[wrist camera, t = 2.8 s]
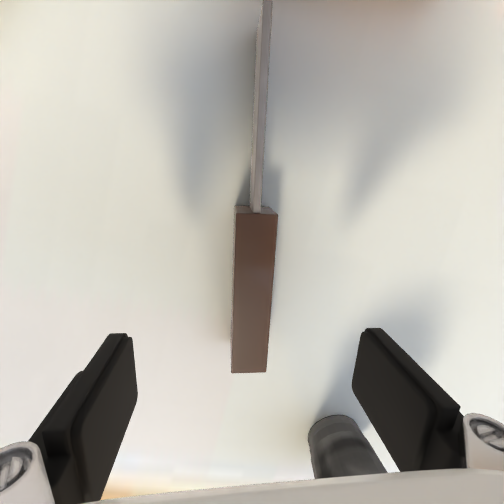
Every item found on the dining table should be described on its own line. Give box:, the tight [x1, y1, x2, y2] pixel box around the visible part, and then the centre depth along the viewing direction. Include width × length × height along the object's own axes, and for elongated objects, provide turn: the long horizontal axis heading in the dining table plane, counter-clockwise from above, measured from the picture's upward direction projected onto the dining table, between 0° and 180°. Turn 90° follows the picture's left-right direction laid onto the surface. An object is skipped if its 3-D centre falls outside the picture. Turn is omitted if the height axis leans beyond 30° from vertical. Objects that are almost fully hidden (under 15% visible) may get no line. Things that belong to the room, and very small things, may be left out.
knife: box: [231, 0, 278, 373], centre depth 15 cm, size 2×19×3 cm, turn 177°
